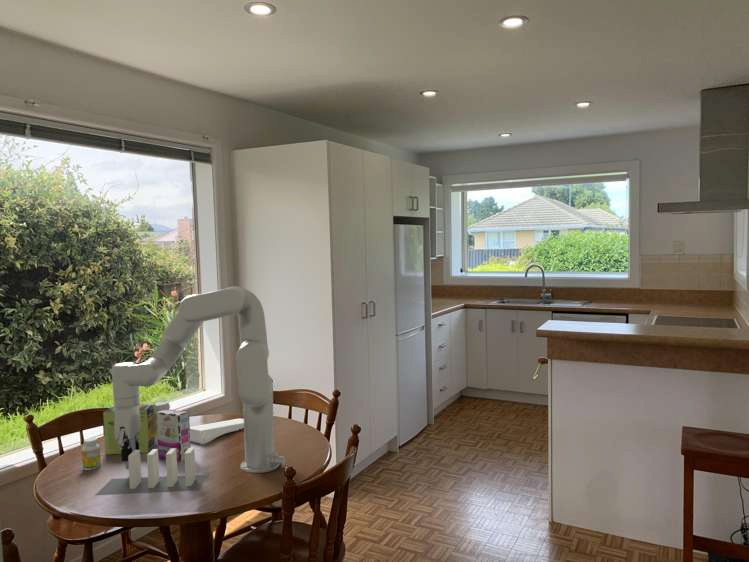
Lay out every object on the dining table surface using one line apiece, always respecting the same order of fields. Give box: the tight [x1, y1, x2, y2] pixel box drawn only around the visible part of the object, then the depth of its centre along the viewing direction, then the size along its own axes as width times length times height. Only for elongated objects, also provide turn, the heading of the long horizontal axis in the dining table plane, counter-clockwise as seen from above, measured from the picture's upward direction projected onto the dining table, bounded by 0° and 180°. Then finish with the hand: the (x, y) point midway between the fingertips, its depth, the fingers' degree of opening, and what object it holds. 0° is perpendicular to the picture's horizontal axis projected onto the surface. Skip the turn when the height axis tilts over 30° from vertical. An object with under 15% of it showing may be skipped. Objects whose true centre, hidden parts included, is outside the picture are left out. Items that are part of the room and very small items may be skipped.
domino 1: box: [128, 450, 142, 489], centre depth 171 cm, size 2×5×10 cm, turn 3°
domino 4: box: [184, 447, 196, 486], centre depth 172 cm, size 2×5×10 cm, turn 3°
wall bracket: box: [190, 418, 244, 445], centre depth 222 cm, size 10×7×28 cm
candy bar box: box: [156, 408, 191, 463], centre depth 195 cm, size 11×5×16 cm, turn 62°
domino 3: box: [165, 448, 178, 487], centre depth 172 cm, size 2×5×10 cm, turn 3°
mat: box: [94, 474, 209, 496], centre depth 172 cm, size 30×12×1 cm, turn 93°
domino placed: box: [124, 436, 136, 470], centre depth 181 cm, size 2×5×10 cm, turn 3°
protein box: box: [102, 402, 158, 455], centre depth 206 cm, size 10×15×16 cm
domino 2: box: [146, 448, 160, 488], centre depth 172 cm, size 2×5×10 cm, turn 3°
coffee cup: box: [151, 400, 171, 428], centre depth 224 cm, size 8×9×12 cm
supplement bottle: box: [81, 437, 101, 471], centre depth 188 cm, size 5×5×10 cm
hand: (130, 457), depth 181 cm, fingers closed on domino placed, 4 cm apart
